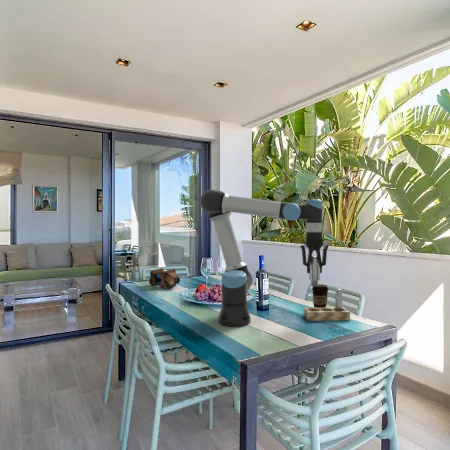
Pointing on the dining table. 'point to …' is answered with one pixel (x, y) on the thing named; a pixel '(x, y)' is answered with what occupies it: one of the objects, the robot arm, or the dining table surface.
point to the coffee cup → (320, 296)
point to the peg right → (338, 299)
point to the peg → (314, 270)
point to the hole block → (326, 314)
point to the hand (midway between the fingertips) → (314, 279)
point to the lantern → (164, 278)
